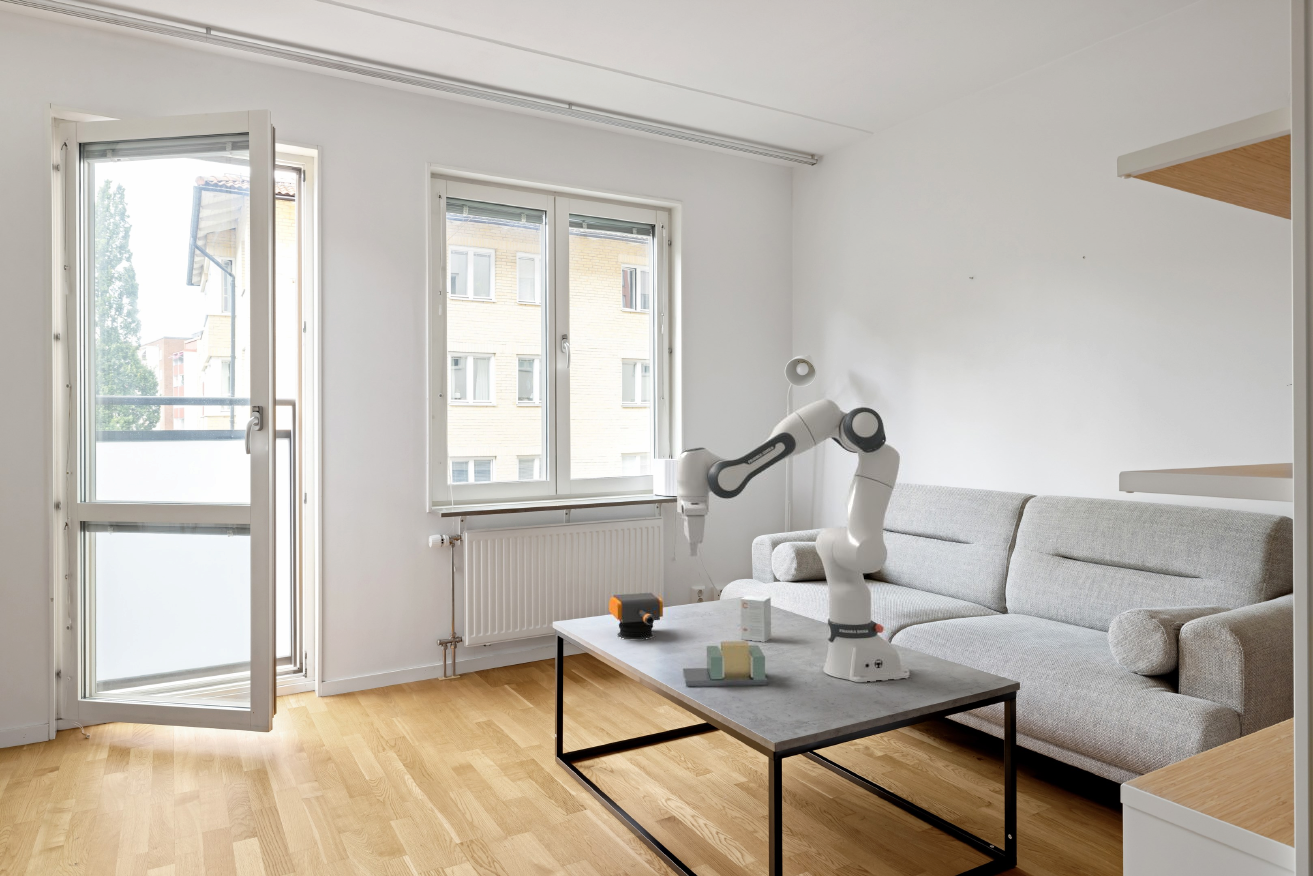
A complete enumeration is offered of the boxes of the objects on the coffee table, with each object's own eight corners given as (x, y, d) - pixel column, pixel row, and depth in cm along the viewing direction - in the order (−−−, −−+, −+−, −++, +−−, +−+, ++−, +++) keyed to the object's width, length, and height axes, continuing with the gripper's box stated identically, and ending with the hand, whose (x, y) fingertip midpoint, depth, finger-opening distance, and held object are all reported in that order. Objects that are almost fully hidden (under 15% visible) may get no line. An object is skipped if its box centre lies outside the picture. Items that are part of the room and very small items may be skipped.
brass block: (721, 671, 223) (720, 641, 223) (747, 671, 223) (746, 641, 223) (723, 676, 218) (722, 646, 218) (749, 676, 218) (749, 645, 218)
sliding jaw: (719, 666, 226) (719, 645, 226) (724, 679, 215) (724, 657, 215) (706, 667, 226) (706, 646, 226) (710, 679, 215) (710, 657, 215)
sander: (626, 651, 249) (626, 609, 249) (608, 631, 273) (608, 593, 273) (673, 647, 253) (673, 605, 253) (651, 628, 277) (651, 590, 277)
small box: (771, 638, 263) (771, 596, 263) (764, 642, 258) (764, 600, 258) (747, 635, 267) (747, 594, 267) (740, 639, 261) (740, 598, 261)
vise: (760, 672, 226) (759, 645, 226) (766, 685, 215) (766, 656, 215) (683, 674, 226) (682, 646, 225) (685, 686, 215) (685, 657, 214)
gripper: (679, 502, 242) (679, 550, 242) (684, 509, 222) (684, 561, 222) (700, 502, 242) (700, 550, 242) (707, 509, 222) (708, 561, 222)
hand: (693, 555), depth 232 cm, fingers closed
